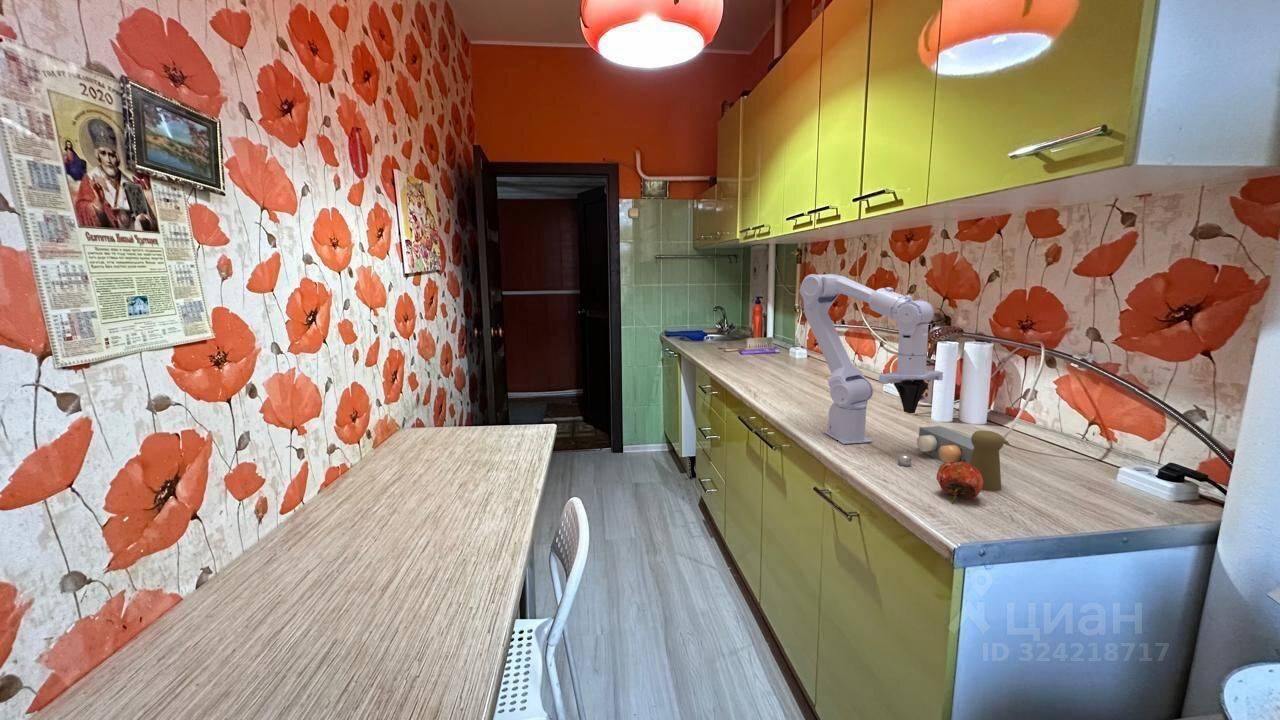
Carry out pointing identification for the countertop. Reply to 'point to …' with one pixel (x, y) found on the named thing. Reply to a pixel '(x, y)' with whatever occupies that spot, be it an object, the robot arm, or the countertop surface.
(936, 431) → the mount
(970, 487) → the pomegranate
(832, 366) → the robot arm
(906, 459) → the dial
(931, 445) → the cream knob
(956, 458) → the orange knob
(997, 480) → the cork
